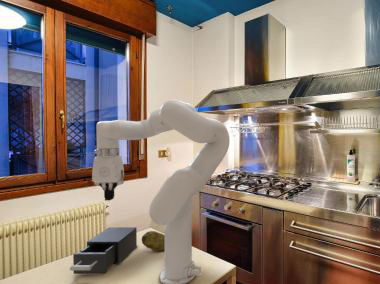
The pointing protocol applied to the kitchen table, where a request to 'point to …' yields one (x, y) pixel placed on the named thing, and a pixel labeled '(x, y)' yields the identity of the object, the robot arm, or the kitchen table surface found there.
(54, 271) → the kitchen table surface
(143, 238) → the potato
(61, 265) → the kitchen table surface
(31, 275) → the kitchen table surface
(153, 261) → the kitchen table surface
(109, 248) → the handled dark box
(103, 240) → the dark gray cabinet
